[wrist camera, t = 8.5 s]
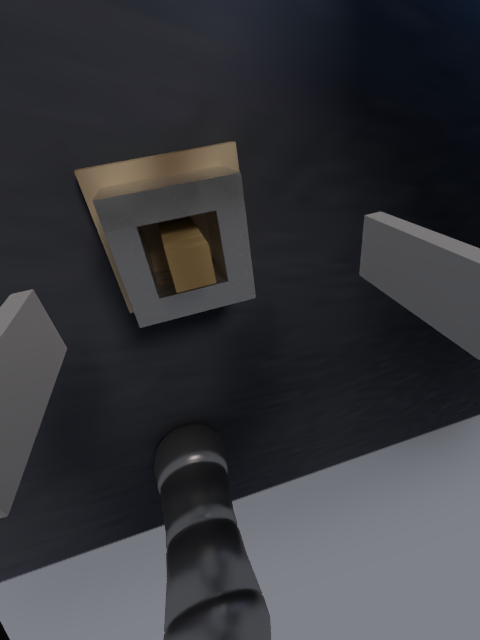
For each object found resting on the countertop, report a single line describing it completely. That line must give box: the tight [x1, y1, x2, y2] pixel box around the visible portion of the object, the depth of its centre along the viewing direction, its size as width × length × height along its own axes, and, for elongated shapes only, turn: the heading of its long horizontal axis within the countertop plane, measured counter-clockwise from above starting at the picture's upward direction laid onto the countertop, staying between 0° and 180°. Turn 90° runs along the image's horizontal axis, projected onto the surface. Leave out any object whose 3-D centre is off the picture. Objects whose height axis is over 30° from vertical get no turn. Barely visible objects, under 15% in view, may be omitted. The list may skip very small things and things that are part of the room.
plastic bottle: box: [154, 423, 271, 640], centre depth 23 cm, size 6×7×20 cm
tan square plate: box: [74, 142, 239, 313], centre depth 18 cm, size 9×9×7 cm
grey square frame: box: [93, 166, 256, 328], centre depth 18 cm, size 7×7×4 cm
